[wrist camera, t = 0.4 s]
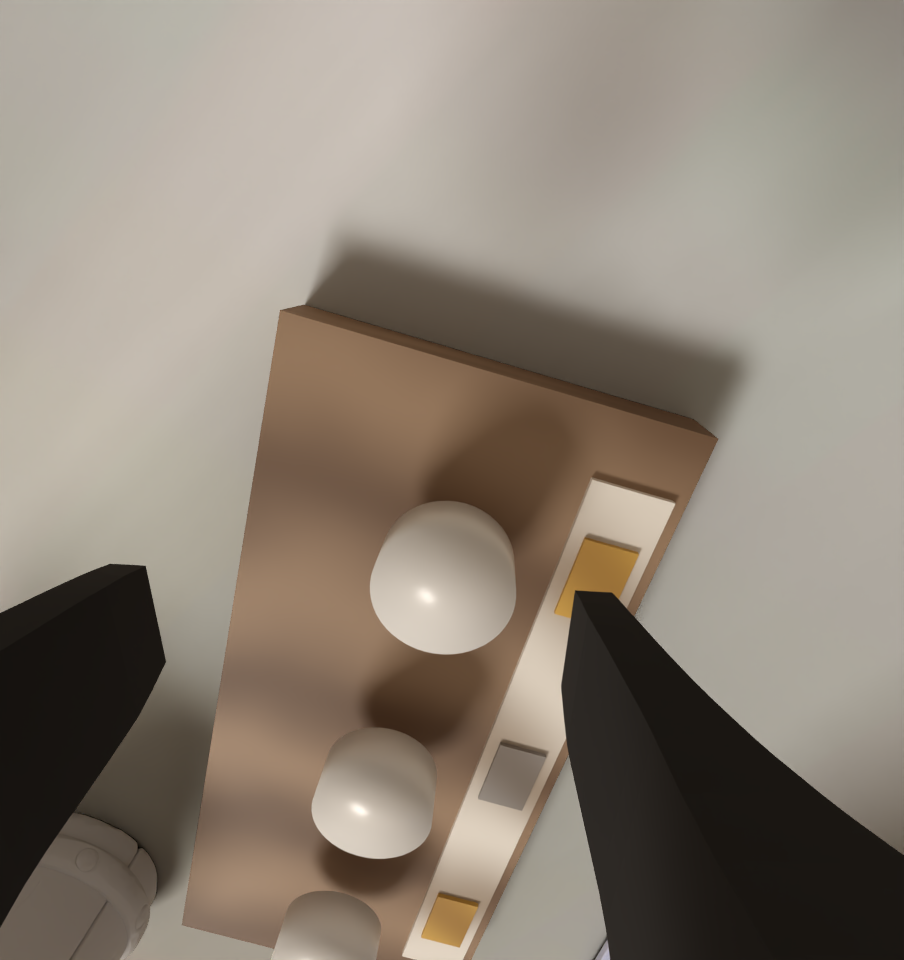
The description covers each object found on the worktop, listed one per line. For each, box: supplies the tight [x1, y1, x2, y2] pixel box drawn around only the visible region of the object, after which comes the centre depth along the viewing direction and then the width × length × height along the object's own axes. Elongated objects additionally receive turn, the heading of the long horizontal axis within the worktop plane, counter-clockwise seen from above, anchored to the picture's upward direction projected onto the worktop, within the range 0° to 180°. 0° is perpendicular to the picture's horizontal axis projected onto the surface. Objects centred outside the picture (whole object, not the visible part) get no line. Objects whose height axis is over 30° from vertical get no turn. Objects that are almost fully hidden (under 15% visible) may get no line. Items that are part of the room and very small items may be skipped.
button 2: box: [370, 501, 516, 654], centre depth 15 cm, size 4×4×2 cm
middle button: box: [312, 727, 437, 859], centre depth 18 cm, size 4×4×2 cm
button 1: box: [271, 891, 381, 960], centre depth 21 cm, size 4×4×2 cm
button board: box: [182, 305, 718, 960], centre depth 20 cm, size 26×12×2 cm, turn 164°
